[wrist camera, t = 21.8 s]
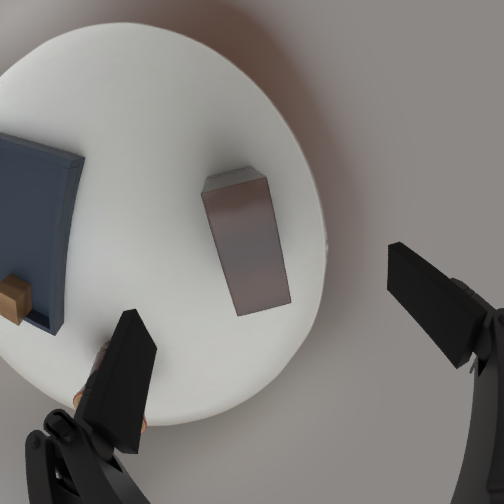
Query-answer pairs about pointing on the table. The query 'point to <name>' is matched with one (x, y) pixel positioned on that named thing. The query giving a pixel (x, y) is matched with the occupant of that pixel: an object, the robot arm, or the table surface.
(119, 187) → the table surface
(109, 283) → the table surface
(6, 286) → the wooden cube
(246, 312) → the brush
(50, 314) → the tray
